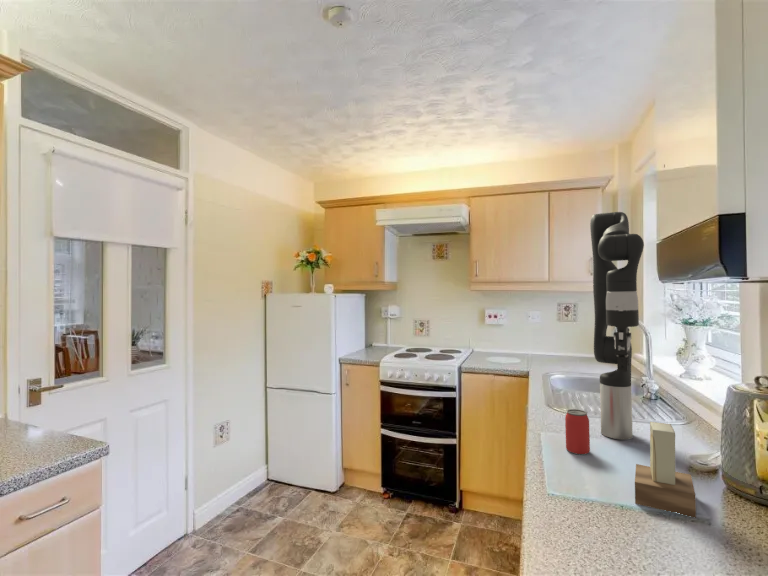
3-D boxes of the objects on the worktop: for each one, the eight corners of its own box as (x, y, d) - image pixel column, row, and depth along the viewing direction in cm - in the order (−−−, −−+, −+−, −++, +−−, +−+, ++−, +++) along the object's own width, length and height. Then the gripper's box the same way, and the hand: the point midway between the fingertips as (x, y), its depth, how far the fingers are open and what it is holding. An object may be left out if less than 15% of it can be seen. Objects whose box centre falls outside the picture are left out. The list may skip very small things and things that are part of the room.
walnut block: (636, 483, 100) (636, 463, 100) (691, 495, 93) (690, 474, 93) (635, 503, 90) (634, 481, 91) (696, 518, 84) (695, 494, 84)
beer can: (570, 445, 125) (569, 407, 125) (593, 450, 120) (592, 411, 120) (562, 451, 120) (561, 412, 120) (585, 457, 116) (584, 416, 116)
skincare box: (650, 470, 96) (648, 420, 96) (672, 474, 94) (671, 423, 94) (653, 482, 90) (651, 429, 90) (676, 486, 88) (675, 432, 88)
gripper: (608, 307, 114) (609, 362, 114) (603, 309, 102) (605, 371, 102) (638, 307, 110) (640, 365, 110) (637, 309, 98) (639, 374, 98)
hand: (623, 368), depth 106 cm, fingers open, 8 cm apart
